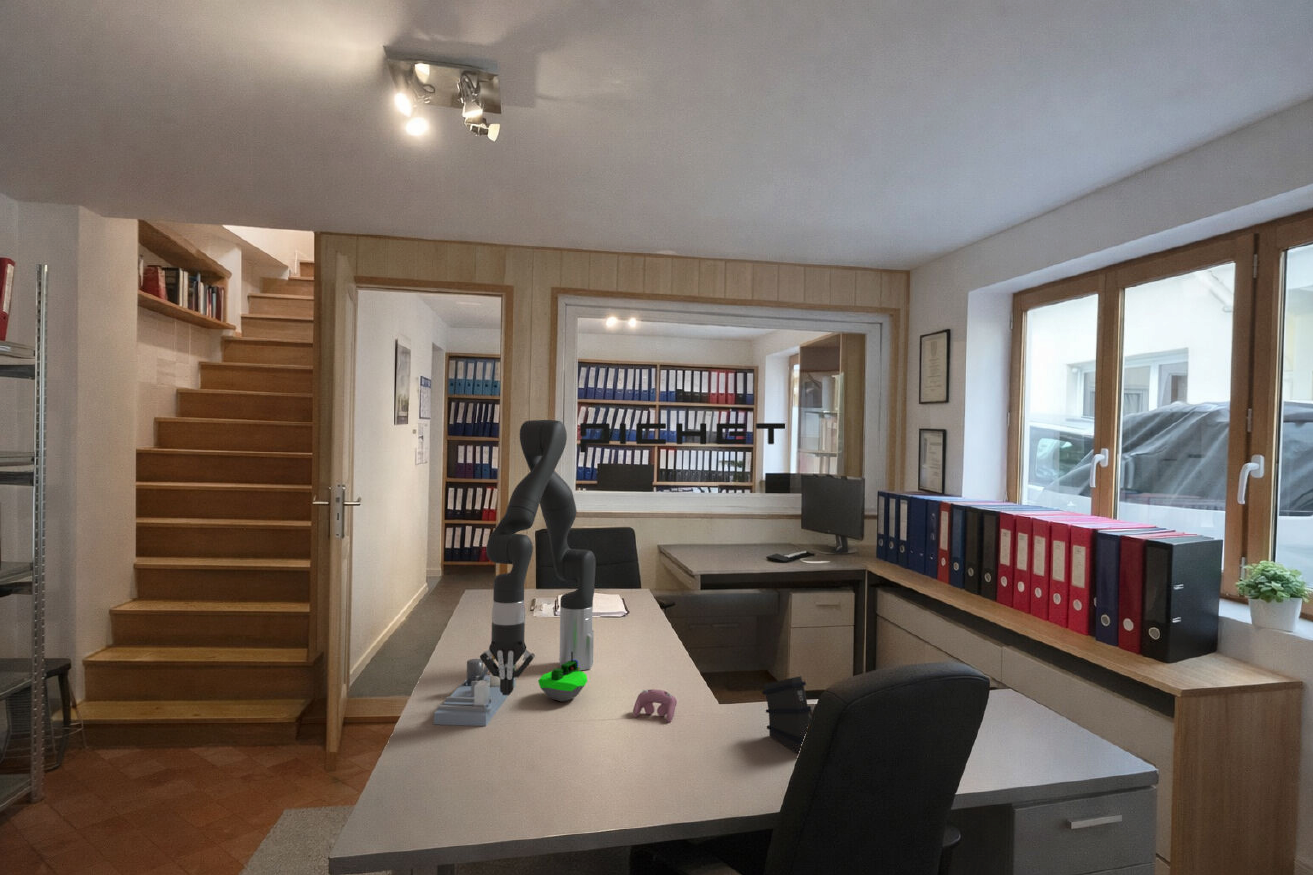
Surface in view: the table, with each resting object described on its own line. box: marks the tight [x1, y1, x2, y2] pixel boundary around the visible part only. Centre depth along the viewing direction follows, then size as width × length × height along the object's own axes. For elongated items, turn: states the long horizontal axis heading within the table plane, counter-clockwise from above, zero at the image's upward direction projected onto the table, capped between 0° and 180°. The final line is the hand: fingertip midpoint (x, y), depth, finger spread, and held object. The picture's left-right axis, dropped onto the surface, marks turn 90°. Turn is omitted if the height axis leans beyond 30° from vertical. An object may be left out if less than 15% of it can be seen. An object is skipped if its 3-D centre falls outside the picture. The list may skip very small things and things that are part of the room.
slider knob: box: [474, 680, 490, 707], centre depth 165 cm, size 2×4×5 cm, turn 177°
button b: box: [466, 658, 484, 684], centre depth 180 cm, size 4×4×5 cm
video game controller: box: [632, 688, 678, 723], centre depth 167 cm, size 10×5×7 cm, turn 72°
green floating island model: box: [537, 652, 588, 703], centre depth 177 cm, size 12×12×11 cm
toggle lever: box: [476, 655, 496, 681], centre depth 173 cm, size 2×2×10 cm
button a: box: [489, 671, 500, 687], centre depth 180 cm, size 4×4×5 cm
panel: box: [433, 674, 517, 727], centre depth 173 cm, size 12×26×6 cm, turn 177°
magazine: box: [761, 676, 812, 754], centre depth 153 cm, size 4×13×15 cm, turn 28°
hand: (506, 694), depth 164 cm, fingers closed
